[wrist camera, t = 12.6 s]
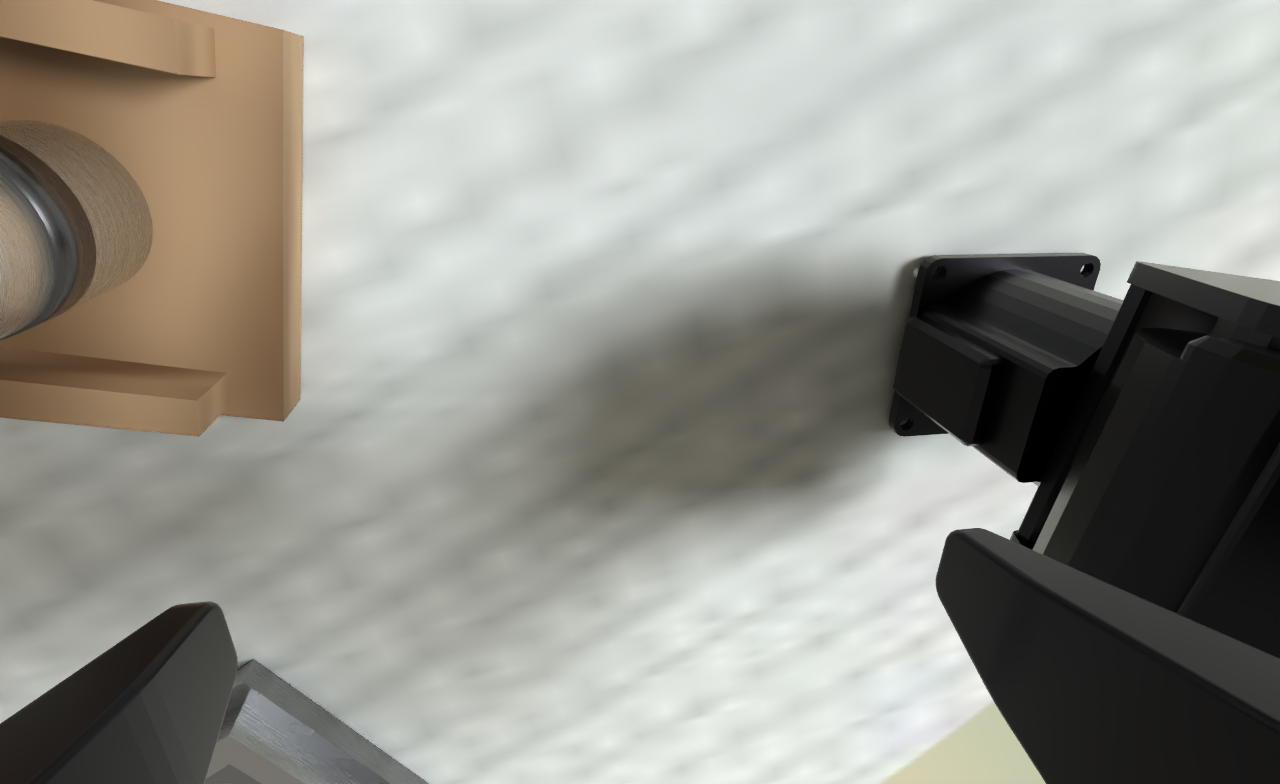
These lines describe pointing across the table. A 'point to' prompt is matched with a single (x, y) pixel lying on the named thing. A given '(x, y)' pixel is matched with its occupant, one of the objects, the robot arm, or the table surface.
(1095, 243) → the table surface
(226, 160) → the tray
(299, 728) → the socket
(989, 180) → the table surface
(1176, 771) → the robot arm
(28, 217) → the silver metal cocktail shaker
